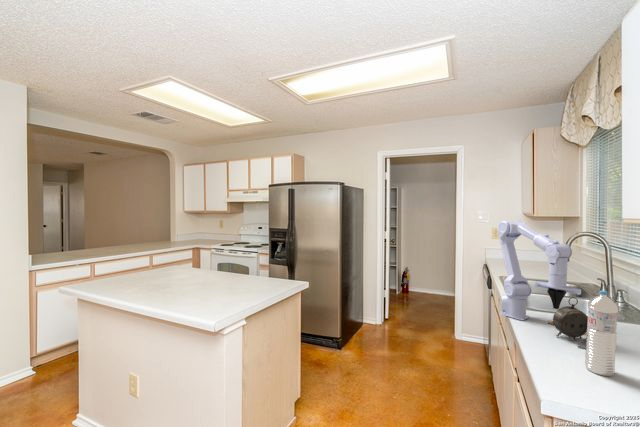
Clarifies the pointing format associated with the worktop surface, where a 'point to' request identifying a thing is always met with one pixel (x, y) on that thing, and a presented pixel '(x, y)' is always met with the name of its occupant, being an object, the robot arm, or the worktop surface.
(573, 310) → the alarm clock
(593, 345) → the water bottle
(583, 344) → the mat
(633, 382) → the worktop surface
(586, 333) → the turner
